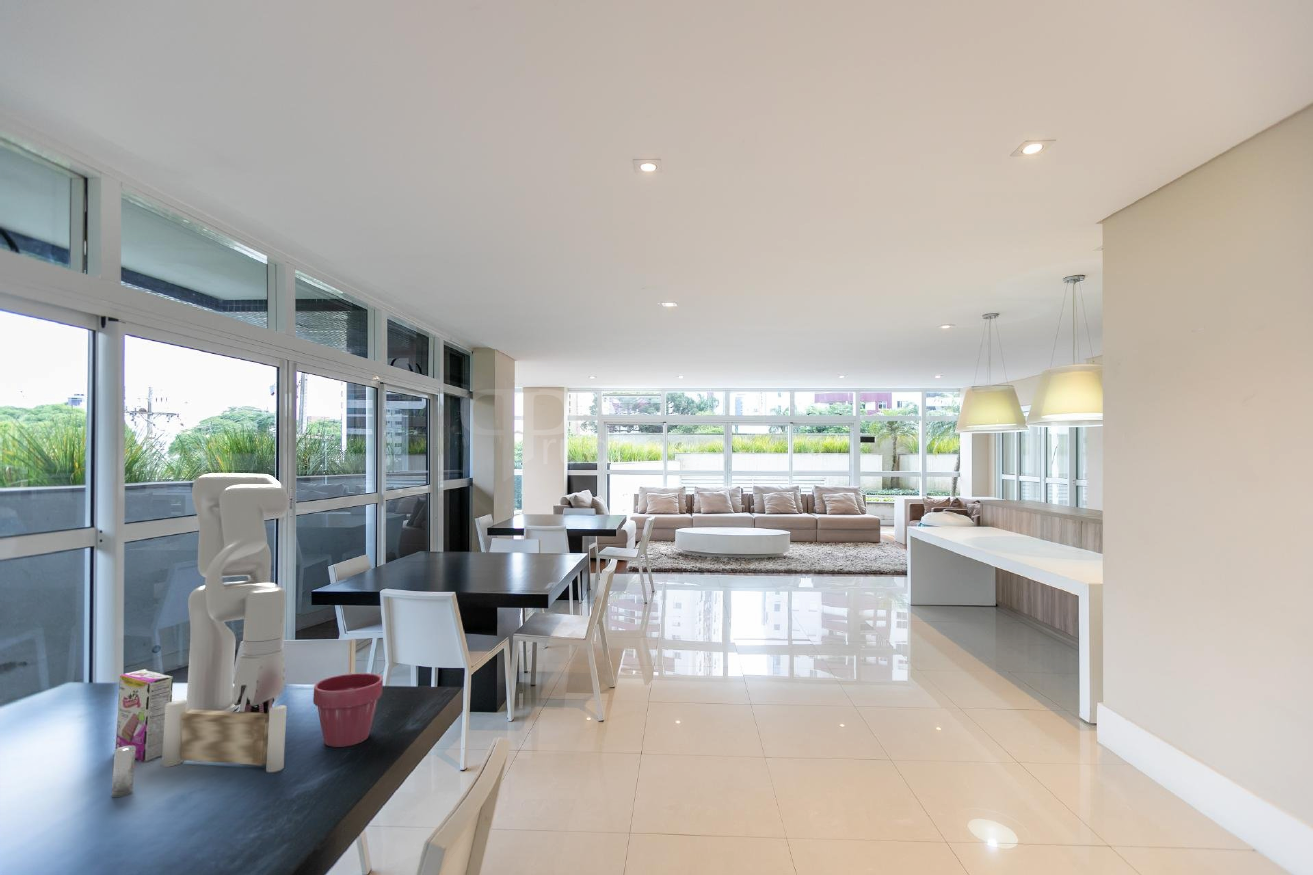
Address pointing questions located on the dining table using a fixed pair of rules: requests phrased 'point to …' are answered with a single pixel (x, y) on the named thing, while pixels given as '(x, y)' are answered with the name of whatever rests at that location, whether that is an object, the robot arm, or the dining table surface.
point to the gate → (225, 737)
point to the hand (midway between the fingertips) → (258, 734)
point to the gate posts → (174, 735)
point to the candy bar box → (143, 712)
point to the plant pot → (347, 707)
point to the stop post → (123, 771)
